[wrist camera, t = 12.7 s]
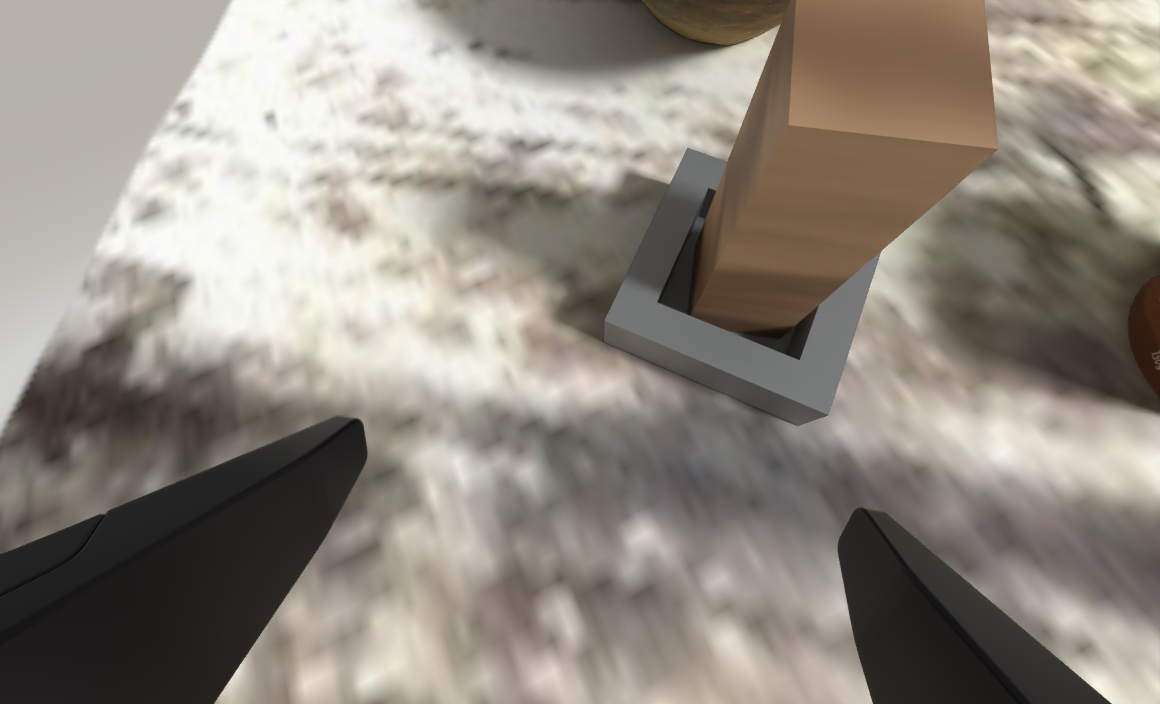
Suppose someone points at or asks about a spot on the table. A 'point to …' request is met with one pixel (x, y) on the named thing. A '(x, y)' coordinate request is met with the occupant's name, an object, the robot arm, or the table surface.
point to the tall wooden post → (841, 153)
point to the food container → (1147, 331)
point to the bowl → (719, 18)
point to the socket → (713, 355)
